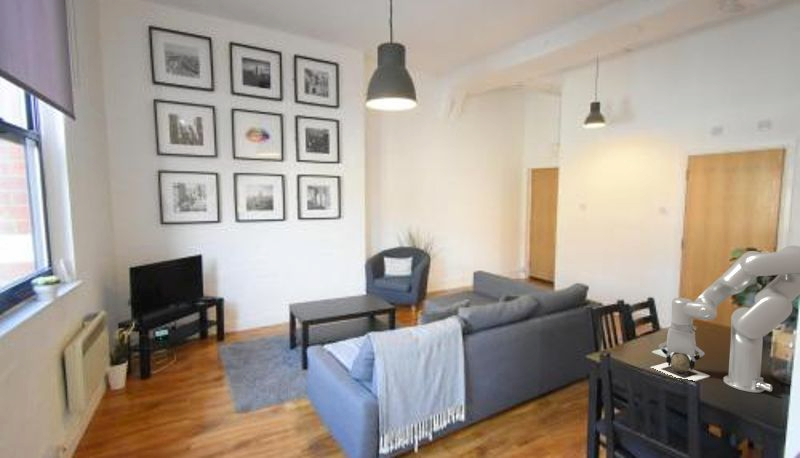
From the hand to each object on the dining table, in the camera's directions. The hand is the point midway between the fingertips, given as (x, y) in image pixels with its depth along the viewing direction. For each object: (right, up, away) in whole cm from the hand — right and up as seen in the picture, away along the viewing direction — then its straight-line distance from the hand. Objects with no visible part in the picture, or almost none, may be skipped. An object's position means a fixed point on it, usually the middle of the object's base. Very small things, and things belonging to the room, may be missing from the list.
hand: (680, 366), depth 170 cm
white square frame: (0, -3, 0) cm, 3 cm away
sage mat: (+11, -1, +18) cm, 21 cm away
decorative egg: (0, -3, 0) cm, 3 cm away
